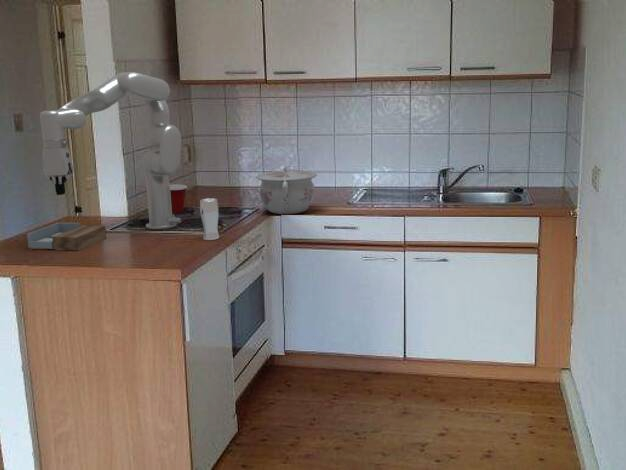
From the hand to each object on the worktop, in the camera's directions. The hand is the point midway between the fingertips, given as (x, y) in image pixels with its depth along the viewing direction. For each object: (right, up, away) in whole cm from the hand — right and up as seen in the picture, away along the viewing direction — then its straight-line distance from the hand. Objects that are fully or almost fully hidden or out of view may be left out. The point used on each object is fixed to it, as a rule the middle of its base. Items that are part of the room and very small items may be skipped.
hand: (60, 194), depth 258 cm
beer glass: (+55, -17, +8) cm, 58 cm away
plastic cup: (+30, -4, +66) cm, 73 cm away
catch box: (-5, -18, +8) cm, 21 cm away
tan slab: (+6, -19, +5) cm, 20 cm away
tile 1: (-4, -15, +12) cm, 19 cm away
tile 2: (-7, -17, +3) cm, 18 cm away
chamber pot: (+82, -5, +55) cm, 99 cm away
